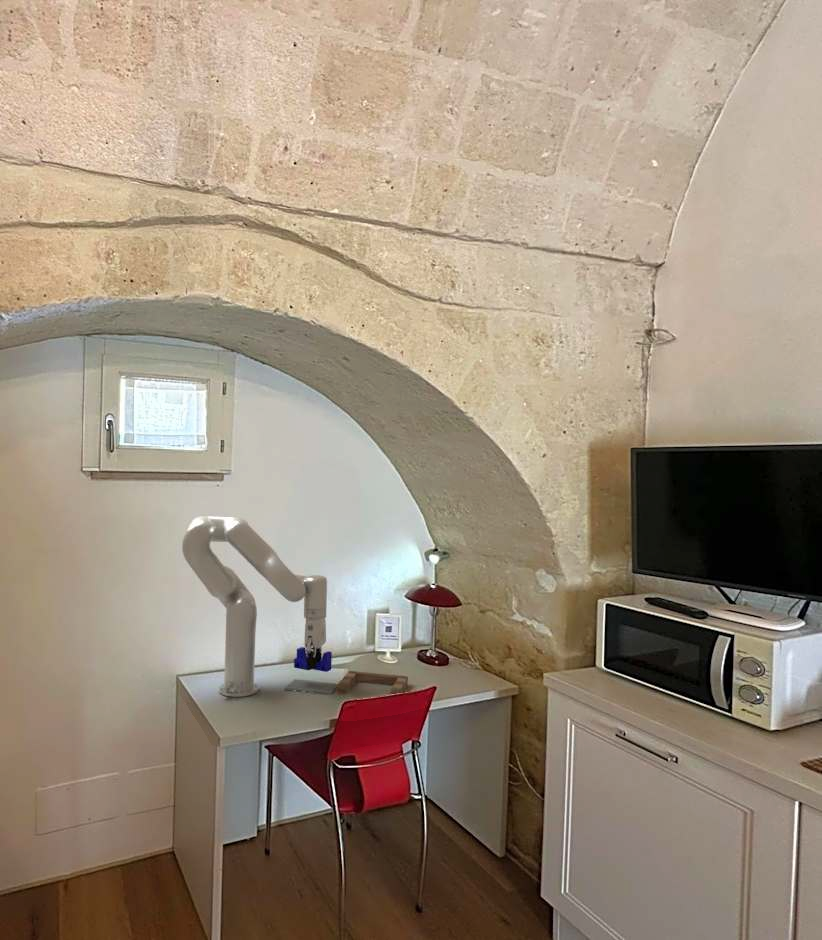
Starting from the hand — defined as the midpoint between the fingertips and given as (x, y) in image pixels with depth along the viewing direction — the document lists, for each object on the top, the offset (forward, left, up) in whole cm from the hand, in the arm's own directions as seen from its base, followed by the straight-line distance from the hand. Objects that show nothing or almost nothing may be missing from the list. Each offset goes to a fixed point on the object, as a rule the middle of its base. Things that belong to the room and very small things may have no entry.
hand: (314, 665), depth 246 cm
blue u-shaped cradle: (0, 0, -1) cm, 1 cm away
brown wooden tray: (+5, -20, -8) cm, 22 cm away
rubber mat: (0, 0, -7) cm, 8 cm away
